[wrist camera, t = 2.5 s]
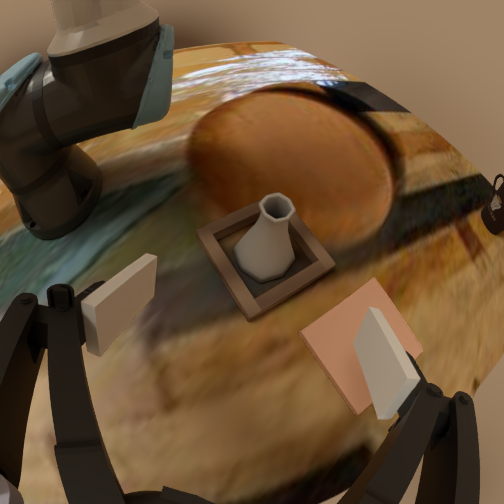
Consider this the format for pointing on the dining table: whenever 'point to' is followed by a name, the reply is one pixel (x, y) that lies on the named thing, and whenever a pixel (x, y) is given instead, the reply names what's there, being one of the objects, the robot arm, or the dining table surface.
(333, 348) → the terracotta coaster
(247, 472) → the dining table surface
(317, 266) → the walnut holder
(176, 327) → the dining table surface
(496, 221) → the coffee mug
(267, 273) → the flask
